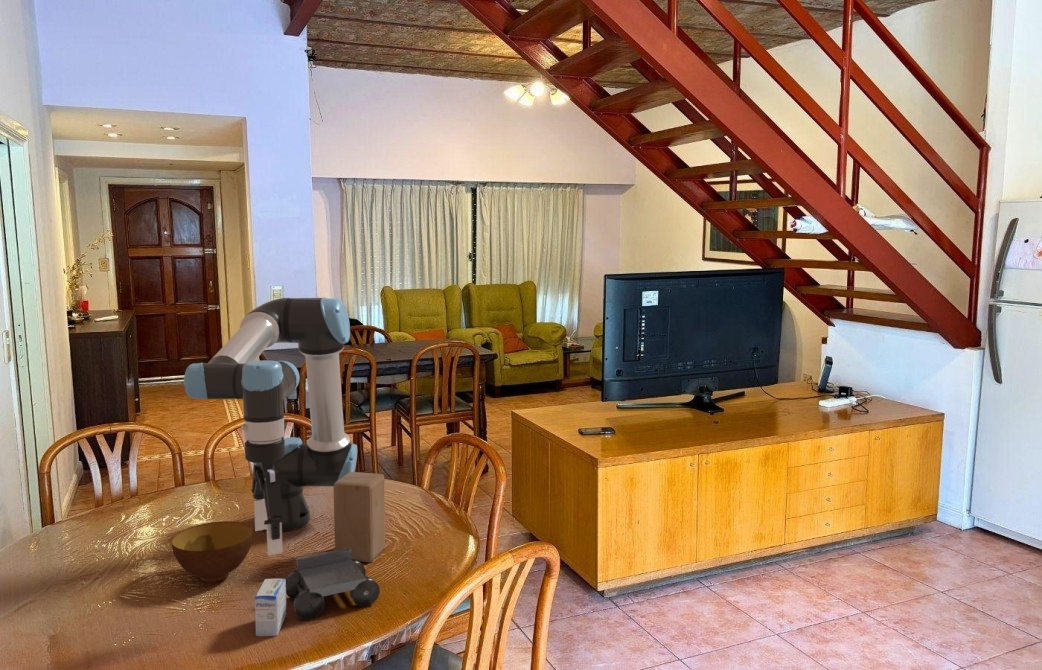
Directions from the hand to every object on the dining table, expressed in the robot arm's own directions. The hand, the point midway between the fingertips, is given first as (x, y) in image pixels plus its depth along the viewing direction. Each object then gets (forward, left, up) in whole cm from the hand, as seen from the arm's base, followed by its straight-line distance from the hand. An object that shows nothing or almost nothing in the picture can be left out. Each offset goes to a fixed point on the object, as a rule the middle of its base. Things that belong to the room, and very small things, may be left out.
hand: (268, 541), depth 151 cm
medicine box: (0, 0, -19) cm, 19 cm away
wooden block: (-26, +27, -19) cm, 42 cm away
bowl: (-30, -7, -19) cm, 36 cm away
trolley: (-5, +14, -18) cm, 23 cm away
